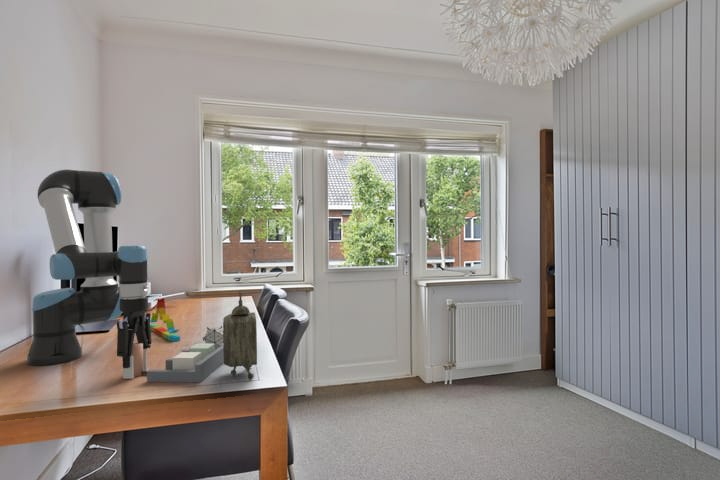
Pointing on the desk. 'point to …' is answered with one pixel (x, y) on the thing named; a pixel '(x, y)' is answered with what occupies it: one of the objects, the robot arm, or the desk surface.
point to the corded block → (179, 362)
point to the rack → (197, 375)
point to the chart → (165, 317)
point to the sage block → (203, 348)
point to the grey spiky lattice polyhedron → (214, 336)
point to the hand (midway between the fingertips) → (135, 373)
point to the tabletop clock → (240, 338)
